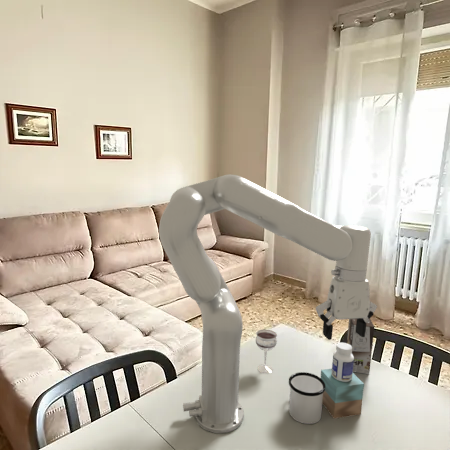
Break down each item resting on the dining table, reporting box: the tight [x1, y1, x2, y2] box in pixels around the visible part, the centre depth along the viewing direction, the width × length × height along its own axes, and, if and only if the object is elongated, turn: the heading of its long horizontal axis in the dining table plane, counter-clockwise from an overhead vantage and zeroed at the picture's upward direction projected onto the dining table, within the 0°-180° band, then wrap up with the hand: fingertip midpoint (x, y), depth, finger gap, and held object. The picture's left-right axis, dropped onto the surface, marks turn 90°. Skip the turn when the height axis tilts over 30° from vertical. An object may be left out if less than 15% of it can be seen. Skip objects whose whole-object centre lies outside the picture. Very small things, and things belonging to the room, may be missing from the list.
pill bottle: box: [331, 342, 354, 382], centre depth 93 cm, size 5×5×9 cm
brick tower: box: [320, 368, 365, 419], centre depth 95 cm, size 8×8×9 cm
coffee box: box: [346, 318, 375, 375], centre depth 115 cm, size 9×6×16 cm
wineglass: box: [255, 329, 278, 374], centre depth 112 cm, size 7×7×12 cm
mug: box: [288, 371, 326, 425], centre depth 93 cm, size 12×10×9 cm
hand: (343, 336), depth 92 cm, fingers open, 9 cm apart
